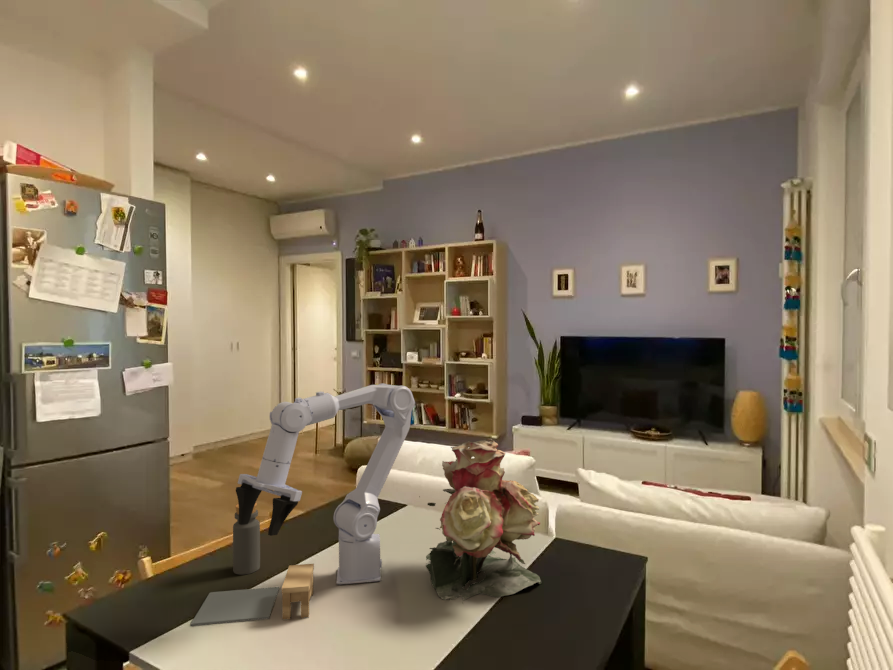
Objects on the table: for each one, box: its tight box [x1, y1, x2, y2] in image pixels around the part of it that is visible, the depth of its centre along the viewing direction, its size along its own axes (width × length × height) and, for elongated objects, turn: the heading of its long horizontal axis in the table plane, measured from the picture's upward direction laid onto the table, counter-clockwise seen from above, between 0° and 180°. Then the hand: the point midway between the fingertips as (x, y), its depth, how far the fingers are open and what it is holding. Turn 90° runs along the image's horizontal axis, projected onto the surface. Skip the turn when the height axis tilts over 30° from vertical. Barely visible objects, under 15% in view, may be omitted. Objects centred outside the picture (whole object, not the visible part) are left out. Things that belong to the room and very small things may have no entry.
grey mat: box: [190, 586, 280, 627], centre depth 102 cm, size 14×12×1 cm
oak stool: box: [281, 563, 315, 620], centre depth 102 cm, size 10×5×6 cm, turn 9°
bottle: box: [232, 502, 261, 576], centre depth 119 cm, size 6×6×15 cm
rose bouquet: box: [419, 438, 543, 604], centre depth 116 cm, size 26×29×30 cm
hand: (257, 529), depth 101 cm, fingers open, 7 cm apart
